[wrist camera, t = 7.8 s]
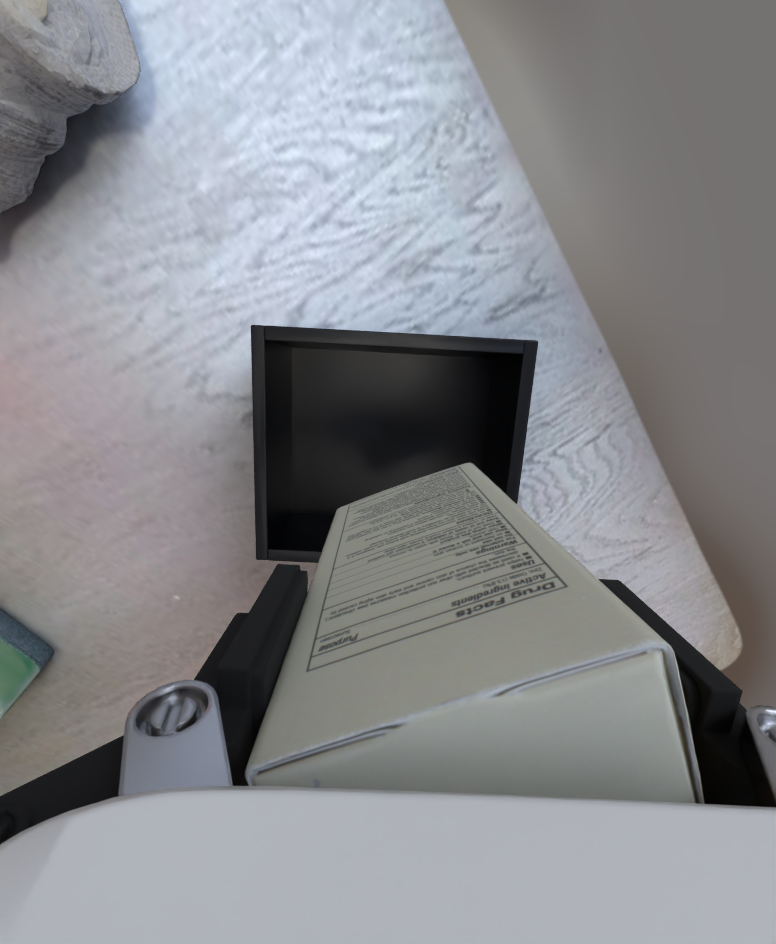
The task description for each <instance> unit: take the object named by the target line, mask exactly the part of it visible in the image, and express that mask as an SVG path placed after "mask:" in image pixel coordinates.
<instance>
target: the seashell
mask: <svg viewBox="0 0 776 944" xmlns="http://www.w3.org/2000/svg"><path fill="white" fill-rule="evenodd" d="M140 72H141V69H140V62H139V57H138V53H137V50H136V47H135V44H134V41H133V40H132V38H131V35H130V31H129V27H128V24H127V21H126V18H125V15H124V12H123V9H122V6H121V4H120V1H119V0H0V215H1V213H2V211H4V210H7V209H9V208H11V207H12V206H15V205H17V204H20V203H22V202H24V201H25V200H26V198H27V197H28V196H29V195H31V193H32V191H33V186H34V182H35V180H36V179H37V177H38V175H39V171H40V167H41V165H42V164H43V162H44V161H45V156H46V155H50V154H53V153H55V152H56V151H58V150H59V149H60V148H61V147H62V146H63V145H64V143H65V137H66V130H67V127H66V121H67V118H68V117H70V116H73V115H77V114H81V113H83V112H85V111H86V110H87V109H89V108H90V106H91V105H92V104H94V103H95V104H98V105H103V104H108V103H110V102H113V101H114V100H115V99H117V98H118V97H119V96H120V95H122V94H124V93H126V92H127V91H128V90H130V89H131V87H132V86H133V85H134V84H136V83H137V81H138V79H139V76H140Z"/></svg>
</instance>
